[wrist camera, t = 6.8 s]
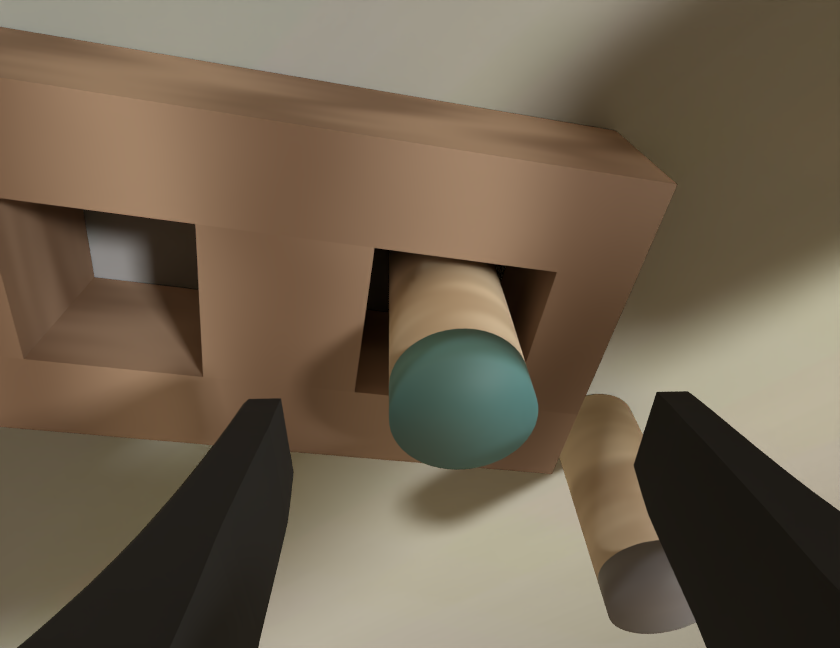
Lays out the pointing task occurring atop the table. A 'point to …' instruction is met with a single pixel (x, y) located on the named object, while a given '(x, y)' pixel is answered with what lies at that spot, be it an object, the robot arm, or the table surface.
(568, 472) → the peg
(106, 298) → the socket block
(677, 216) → the table surface
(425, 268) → the peg
